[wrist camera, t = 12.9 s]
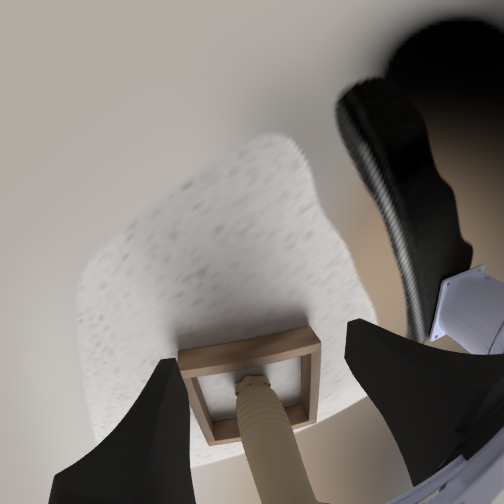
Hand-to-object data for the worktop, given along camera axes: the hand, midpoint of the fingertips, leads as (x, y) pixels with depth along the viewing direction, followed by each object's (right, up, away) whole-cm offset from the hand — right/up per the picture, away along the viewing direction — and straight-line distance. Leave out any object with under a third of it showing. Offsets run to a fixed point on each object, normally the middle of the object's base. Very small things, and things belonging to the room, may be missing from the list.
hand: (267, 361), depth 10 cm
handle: (-1, -8, +12) cm, 14 cm away
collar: (-1, -8, +12) cm, 14 cm away
